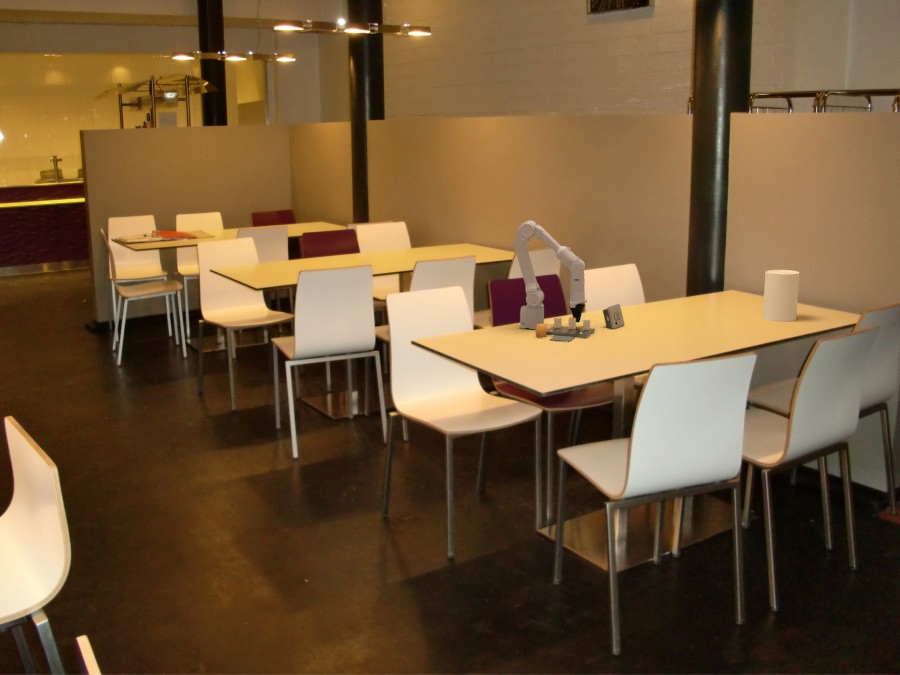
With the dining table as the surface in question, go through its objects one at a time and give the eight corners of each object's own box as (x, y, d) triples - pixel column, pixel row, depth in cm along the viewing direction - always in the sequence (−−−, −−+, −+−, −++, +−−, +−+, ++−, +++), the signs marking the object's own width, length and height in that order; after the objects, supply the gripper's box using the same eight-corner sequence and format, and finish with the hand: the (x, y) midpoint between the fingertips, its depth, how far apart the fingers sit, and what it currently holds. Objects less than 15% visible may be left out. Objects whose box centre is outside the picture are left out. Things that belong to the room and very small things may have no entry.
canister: (793, 322, 381) (796, 275, 377) (759, 320, 387) (762, 273, 383) (798, 317, 392) (801, 270, 388) (766, 314, 399) (768, 268, 395)
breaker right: (582, 329, 366) (583, 319, 365) (584, 328, 368) (584, 319, 367) (588, 330, 365) (589, 320, 364) (590, 329, 367) (590, 319, 366)
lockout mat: (549, 340, 355) (549, 339, 355) (555, 336, 362) (555, 335, 362) (569, 342, 352) (569, 341, 352) (575, 337, 359) (575, 336, 359)
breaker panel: (545, 335, 365) (545, 330, 364) (554, 329, 375) (554, 324, 375) (586, 338, 358) (586, 333, 358) (594, 332, 369) (594, 327, 368)
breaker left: (554, 327, 371) (554, 318, 370) (555, 326, 373) (555, 317, 372) (560, 328, 370) (560, 318, 369) (561, 327, 372) (561, 317, 371)
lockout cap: (535, 337, 361) (535, 325, 360) (538, 335, 365) (538, 323, 364) (544, 338, 360) (545, 325, 359) (547, 336, 363) (548, 323, 362)
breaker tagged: (568, 328, 369) (568, 318, 368) (569, 327, 370) (569, 317, 370) (574, 329, 368) (574, 318, 367) (575, 328, 369) (575, 317, 369)
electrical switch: (613, 329, 373) (612, 307, 372) (602, 329, 377) (601, 307, 375) (624, 325, 381) (623, 303, 379) (613, 325, 384) (612, 303, 382)
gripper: (582, 292, 364) (581, 326, 367) (591, 287, 377) (591, 319, 380) (564, 291, 367) (564, 324, 370) (574, 286, 380) (574, 318, 383)
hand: (576, 322), depth 375 cm, fingers closed
